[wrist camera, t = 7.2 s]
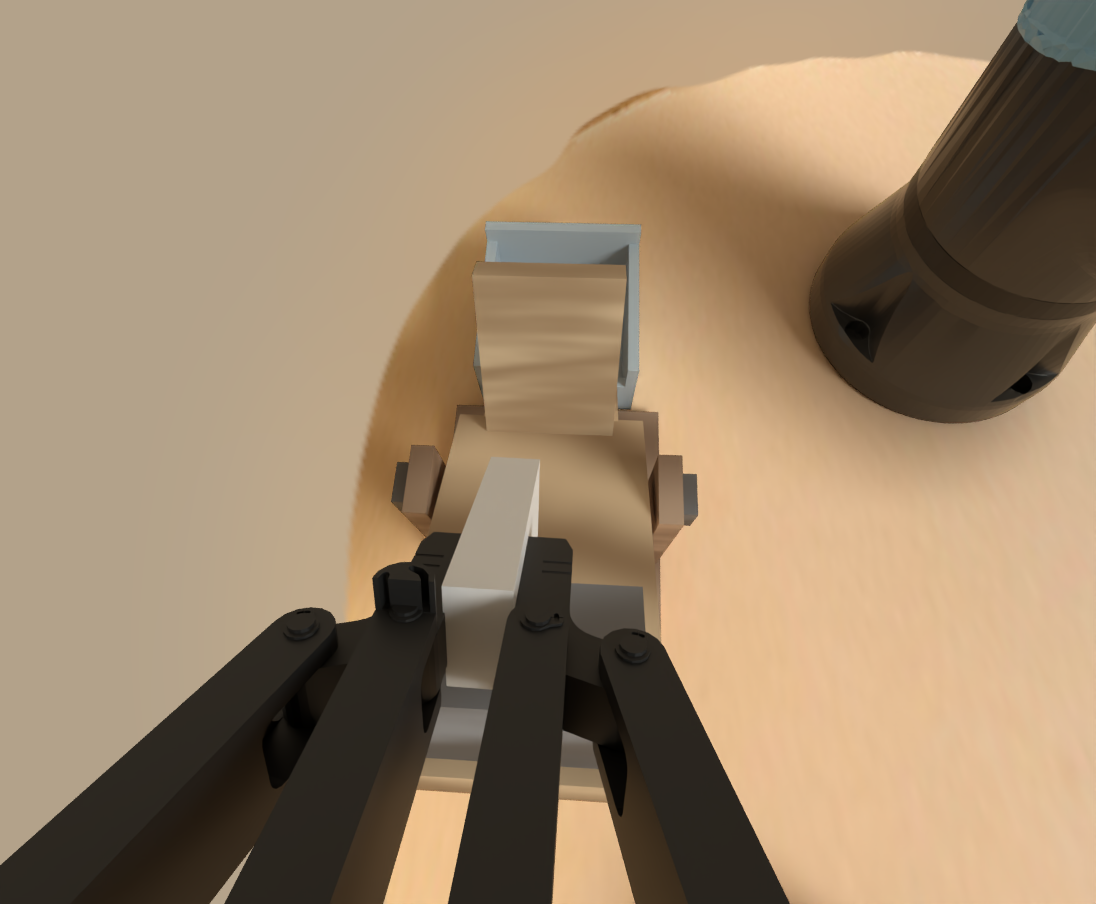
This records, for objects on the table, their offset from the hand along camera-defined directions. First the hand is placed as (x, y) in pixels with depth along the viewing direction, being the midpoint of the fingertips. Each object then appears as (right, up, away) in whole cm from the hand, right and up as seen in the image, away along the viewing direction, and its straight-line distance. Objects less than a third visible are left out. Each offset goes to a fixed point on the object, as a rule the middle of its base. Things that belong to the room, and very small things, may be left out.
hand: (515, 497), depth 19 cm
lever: (+1, -2, +8) cm, 8 cm away
